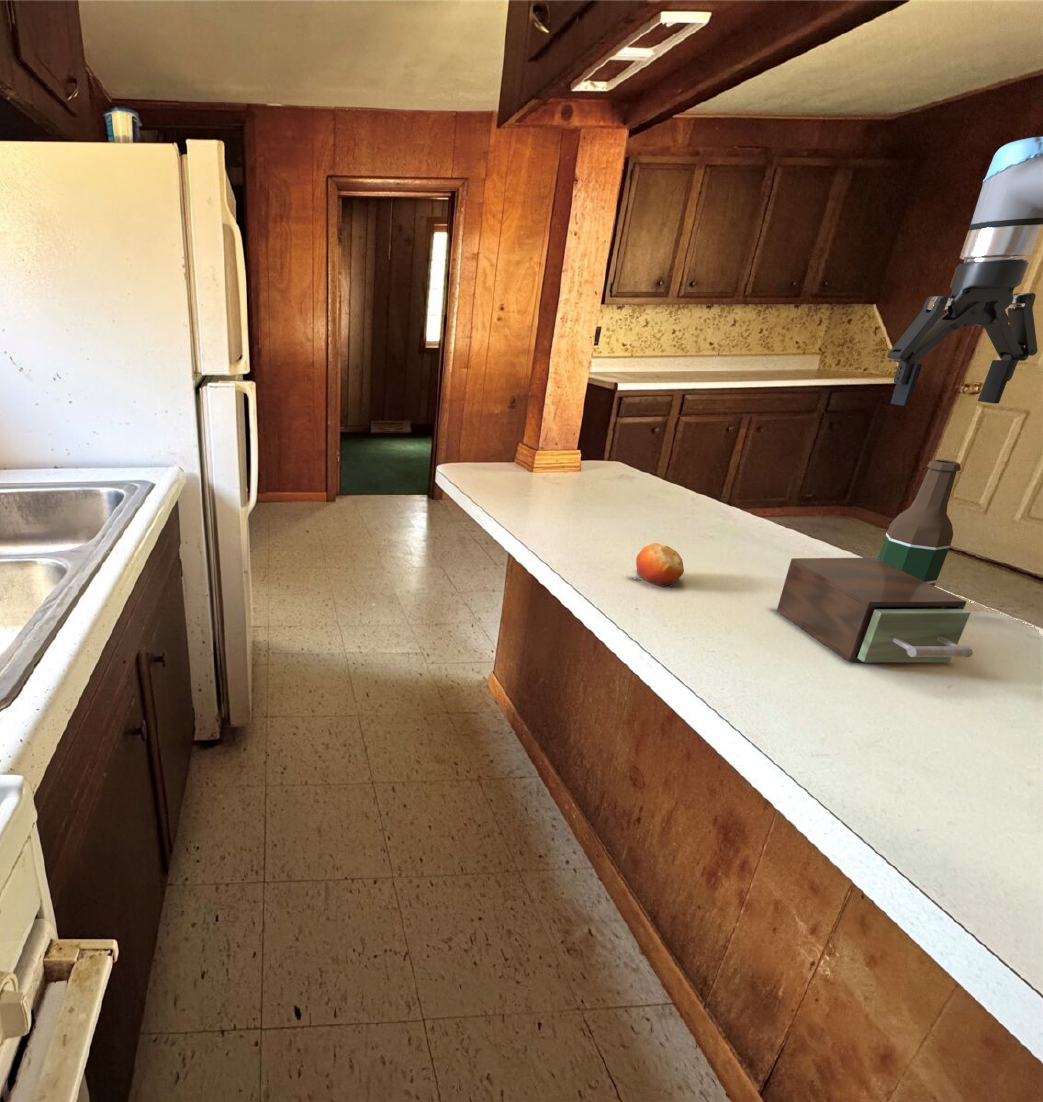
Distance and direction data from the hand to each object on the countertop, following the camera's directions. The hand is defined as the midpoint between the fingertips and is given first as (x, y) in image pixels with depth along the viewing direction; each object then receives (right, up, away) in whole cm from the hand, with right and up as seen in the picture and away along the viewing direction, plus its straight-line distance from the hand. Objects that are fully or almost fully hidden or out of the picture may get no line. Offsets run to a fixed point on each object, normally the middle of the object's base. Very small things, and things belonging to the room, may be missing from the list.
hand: (943, 403), depth 99 cm
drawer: (-20, -38, -10) cm, 44 cm away
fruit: (-39, -30, +14) cm, 51 cm away
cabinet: (-20, -37, -6) cm, 42 cm away
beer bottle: (-3, -33, +5) cm, 33 cm away
